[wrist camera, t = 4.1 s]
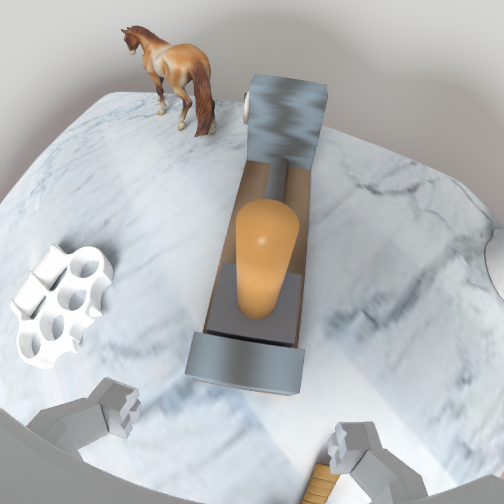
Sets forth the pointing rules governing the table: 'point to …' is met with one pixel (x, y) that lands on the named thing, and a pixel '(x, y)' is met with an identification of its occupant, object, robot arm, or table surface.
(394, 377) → the table surface
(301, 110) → the walnut rail
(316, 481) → the kendama
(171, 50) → the horse figurine
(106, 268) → the white brass knuckles
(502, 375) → the table surface
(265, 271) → the carriage
